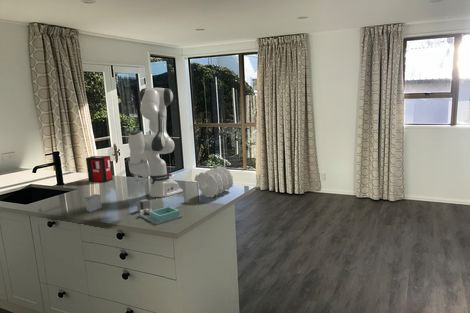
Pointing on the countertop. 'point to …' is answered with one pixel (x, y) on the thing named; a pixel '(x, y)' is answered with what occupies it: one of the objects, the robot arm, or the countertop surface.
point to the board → (155, 219)
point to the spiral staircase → (214, 181)
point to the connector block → (143, 205)
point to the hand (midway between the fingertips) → (140, 182)
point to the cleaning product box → (99, 168)
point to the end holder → (157, 214)
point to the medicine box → (93, 202)
